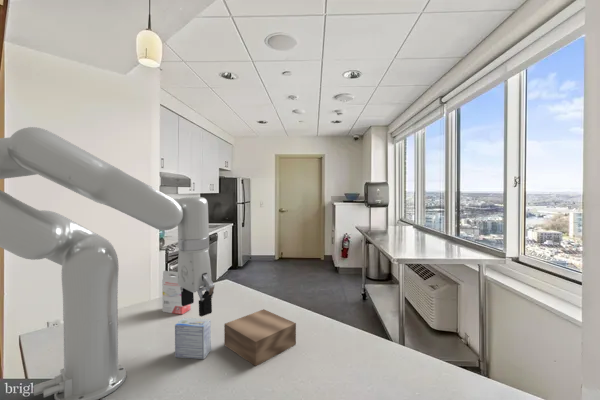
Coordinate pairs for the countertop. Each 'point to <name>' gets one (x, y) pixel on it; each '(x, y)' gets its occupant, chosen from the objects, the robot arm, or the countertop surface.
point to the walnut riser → (259, 336)
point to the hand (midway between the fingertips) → (196, 309)
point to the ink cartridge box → (172, 294)
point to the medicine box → (193, 338)
